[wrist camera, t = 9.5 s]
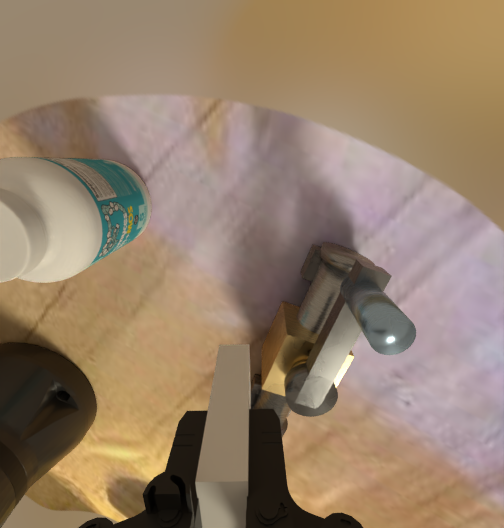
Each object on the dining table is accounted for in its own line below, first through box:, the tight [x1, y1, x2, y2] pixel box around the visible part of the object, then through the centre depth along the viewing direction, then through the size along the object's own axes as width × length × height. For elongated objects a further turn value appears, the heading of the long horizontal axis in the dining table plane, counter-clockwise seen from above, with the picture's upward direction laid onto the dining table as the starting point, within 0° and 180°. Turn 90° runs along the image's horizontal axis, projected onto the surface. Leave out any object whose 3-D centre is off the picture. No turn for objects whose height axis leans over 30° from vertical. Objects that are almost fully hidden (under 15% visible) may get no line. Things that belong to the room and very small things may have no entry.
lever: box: [284, 259, 416, 417], centre depth 19 cm, size 13×4×6 cm, turn 161°
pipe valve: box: [250, 242, 375, 437], centre depth 27 cm, size 6×21×7 cm, turn 160°
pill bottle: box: [0, 157, 152, 283], centre depth 20 cm, size 8×7×14 cm
